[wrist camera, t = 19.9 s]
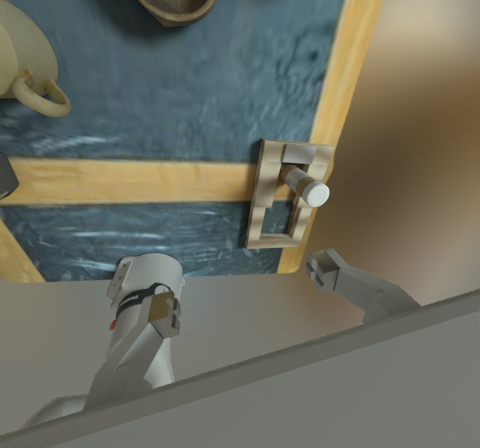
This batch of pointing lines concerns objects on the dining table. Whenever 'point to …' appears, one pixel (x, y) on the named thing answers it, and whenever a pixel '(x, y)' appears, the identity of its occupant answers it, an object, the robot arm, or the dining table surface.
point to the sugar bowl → (28, 64)
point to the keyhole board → (265, 186)
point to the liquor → (6, 177)
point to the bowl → (178, 10)
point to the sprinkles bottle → (305, 185)
